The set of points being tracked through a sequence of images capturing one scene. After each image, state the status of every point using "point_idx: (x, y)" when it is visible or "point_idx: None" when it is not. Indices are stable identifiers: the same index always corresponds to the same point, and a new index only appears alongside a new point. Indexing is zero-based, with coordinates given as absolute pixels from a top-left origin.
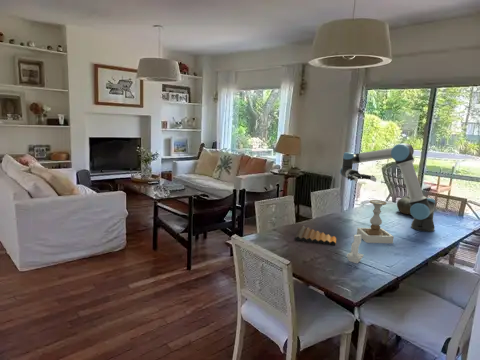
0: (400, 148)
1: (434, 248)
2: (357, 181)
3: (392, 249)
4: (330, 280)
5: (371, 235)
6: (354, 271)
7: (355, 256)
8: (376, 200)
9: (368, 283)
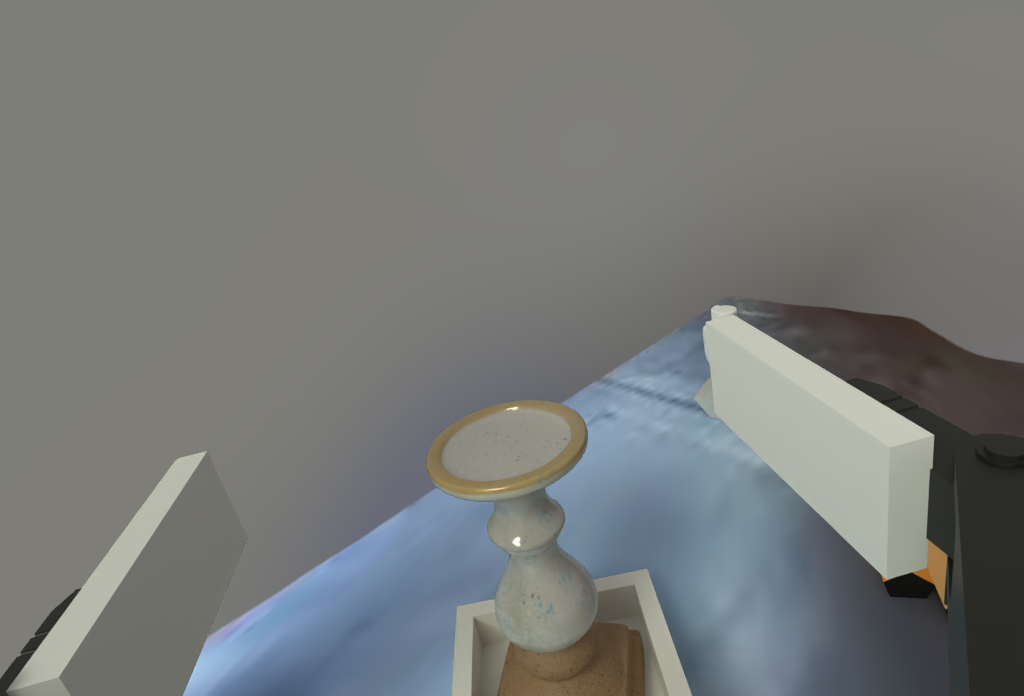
0: None
1: (261, 623)
2: (719, 410)
3: None
4: (798, 322)
5: (614, 586)
6: None
7: None
8: (494, 480)
9: (691, 338)
